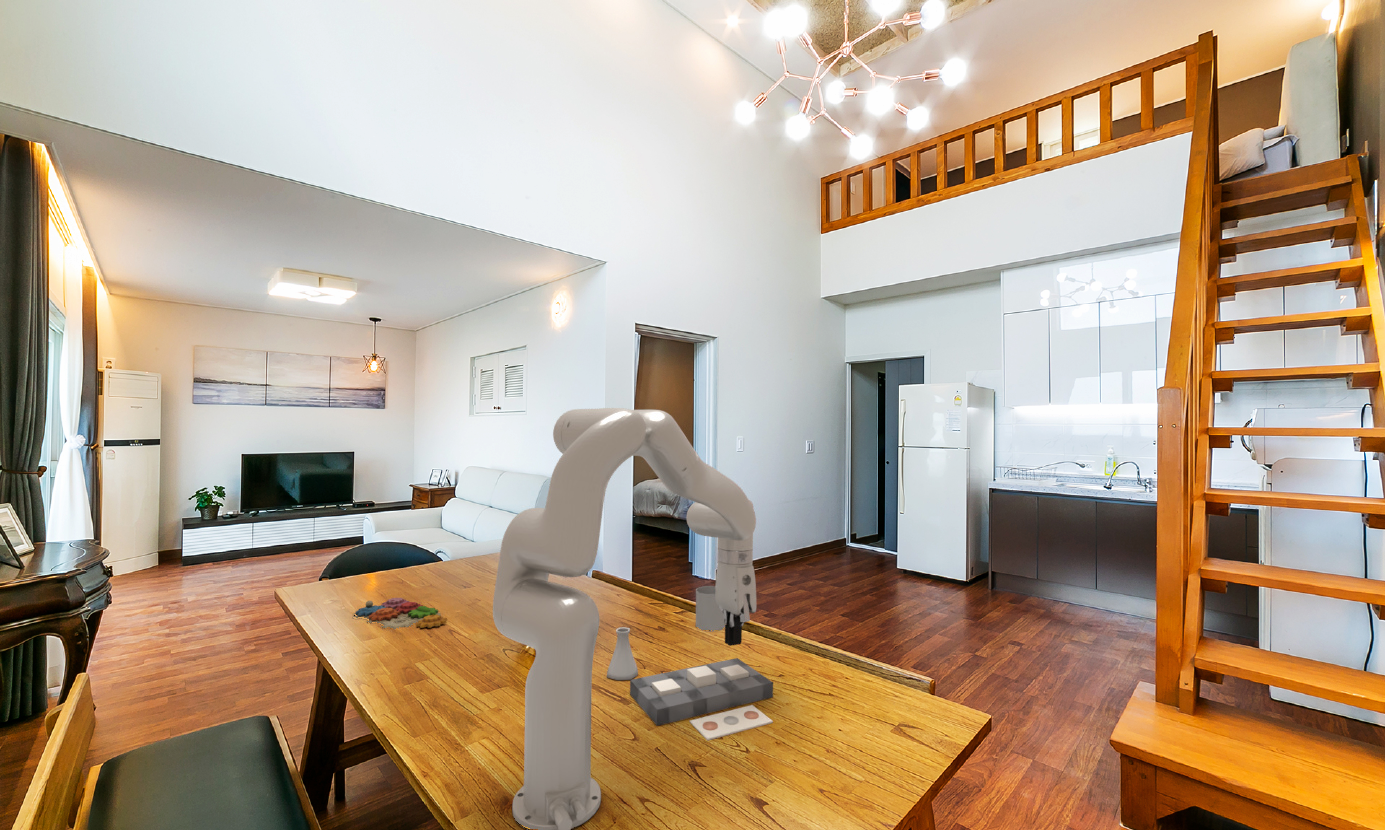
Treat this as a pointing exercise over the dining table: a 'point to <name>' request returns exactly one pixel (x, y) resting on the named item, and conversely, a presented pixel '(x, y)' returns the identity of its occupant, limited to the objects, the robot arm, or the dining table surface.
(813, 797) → the dining table surface
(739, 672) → the button
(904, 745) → the dining table surface
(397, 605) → the gear puzzle
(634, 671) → the flask
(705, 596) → the cup
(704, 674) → the button
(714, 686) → the button board
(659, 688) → the button
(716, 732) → the pattern card
